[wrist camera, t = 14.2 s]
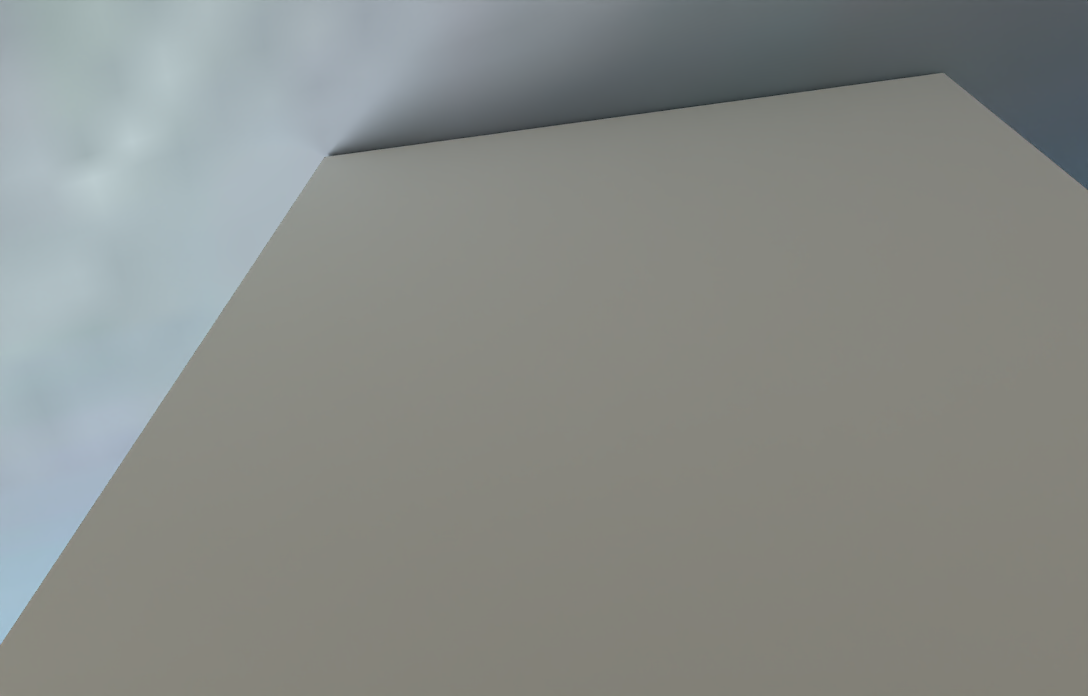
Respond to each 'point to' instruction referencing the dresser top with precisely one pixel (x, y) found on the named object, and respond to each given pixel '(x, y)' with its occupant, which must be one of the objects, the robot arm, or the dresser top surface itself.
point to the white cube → (620, 425)
